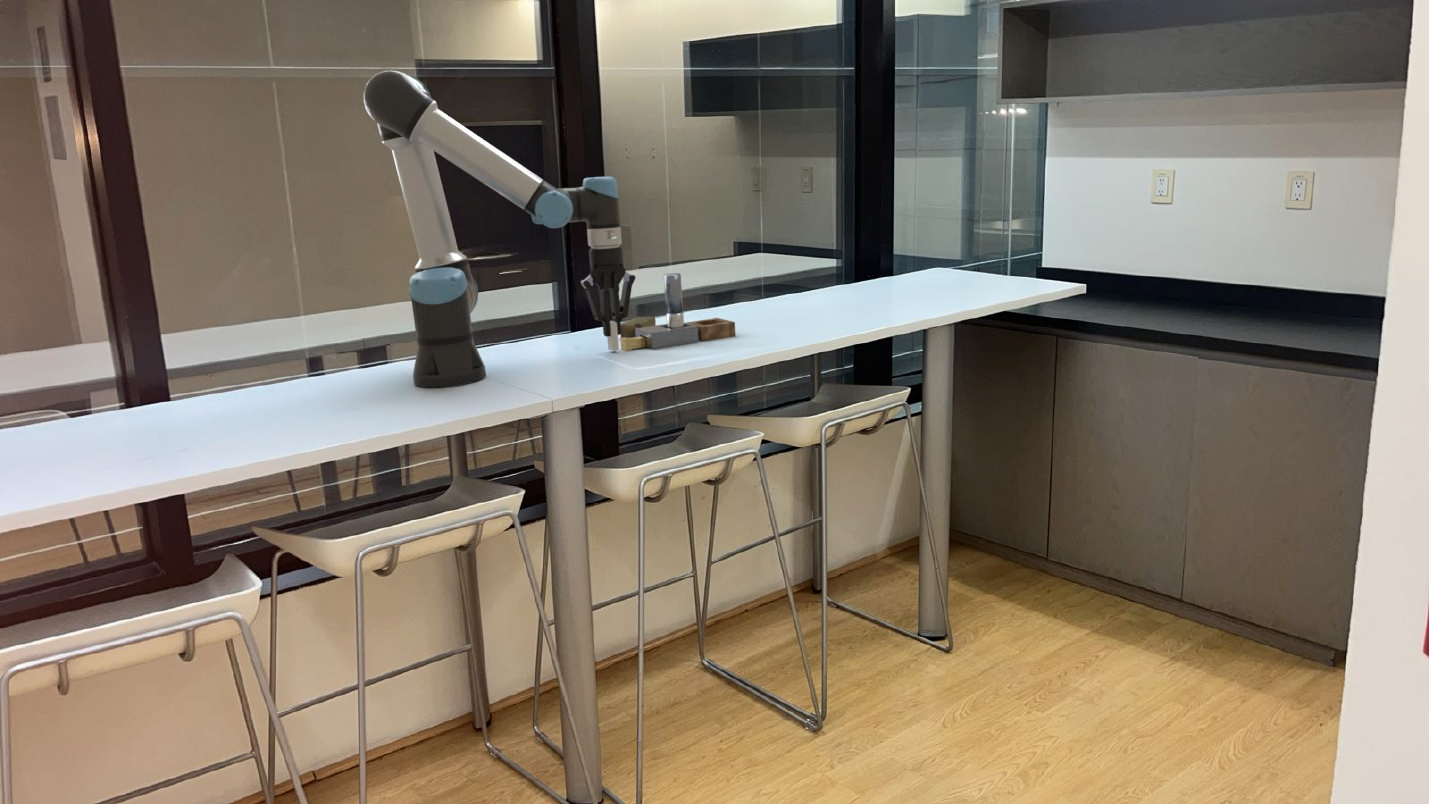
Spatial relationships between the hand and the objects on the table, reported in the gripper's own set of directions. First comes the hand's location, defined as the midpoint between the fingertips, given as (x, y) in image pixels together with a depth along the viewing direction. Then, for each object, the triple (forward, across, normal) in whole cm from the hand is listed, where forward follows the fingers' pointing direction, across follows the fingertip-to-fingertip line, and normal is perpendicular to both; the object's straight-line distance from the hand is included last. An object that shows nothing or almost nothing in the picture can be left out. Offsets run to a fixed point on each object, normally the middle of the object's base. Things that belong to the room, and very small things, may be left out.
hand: (613, 349), depth 244 cm
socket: (+1, +14, 0) cm, 14 cm away
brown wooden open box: (+1, +25, 0) cm, 25 cm away
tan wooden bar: (+1, +7, 0) cm, 7 cm away
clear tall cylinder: (0, +16, 0) cm, 16 cm away
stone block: (+2, +13, +14) cm, 19 cm away
